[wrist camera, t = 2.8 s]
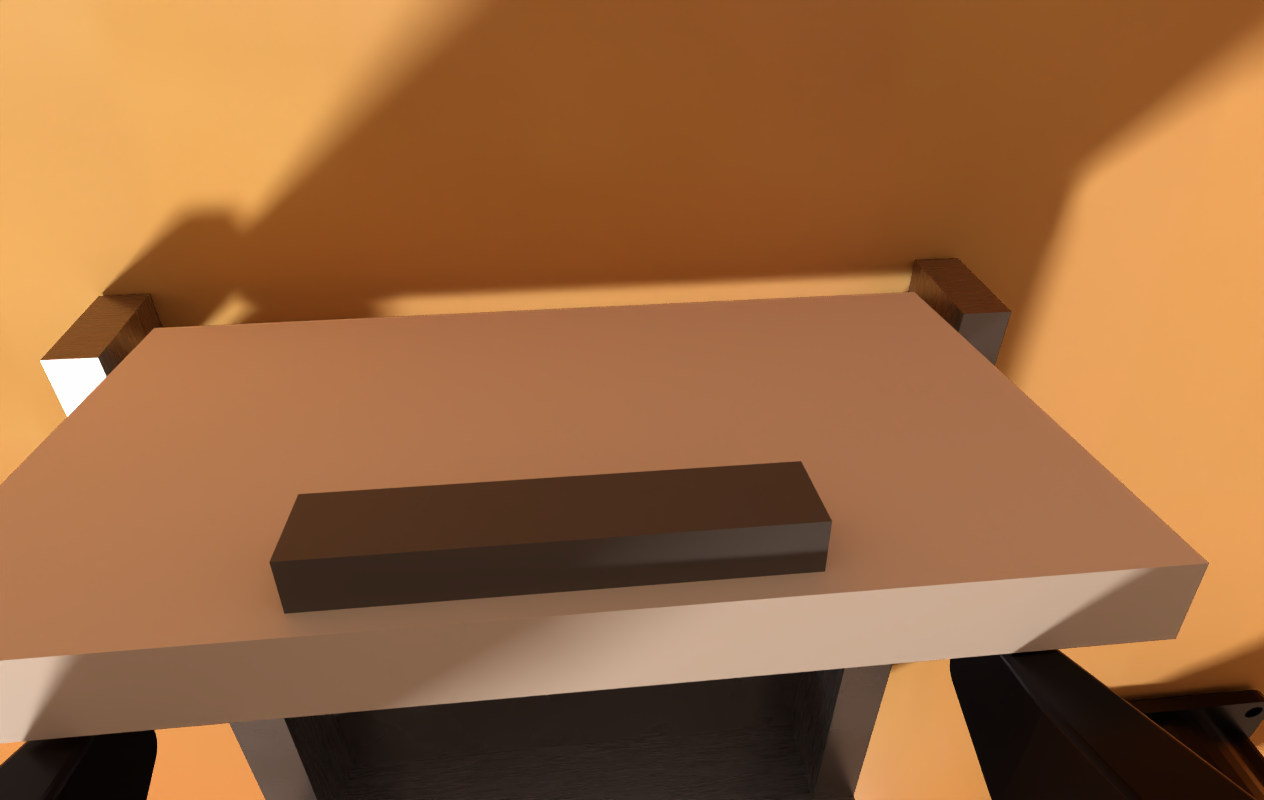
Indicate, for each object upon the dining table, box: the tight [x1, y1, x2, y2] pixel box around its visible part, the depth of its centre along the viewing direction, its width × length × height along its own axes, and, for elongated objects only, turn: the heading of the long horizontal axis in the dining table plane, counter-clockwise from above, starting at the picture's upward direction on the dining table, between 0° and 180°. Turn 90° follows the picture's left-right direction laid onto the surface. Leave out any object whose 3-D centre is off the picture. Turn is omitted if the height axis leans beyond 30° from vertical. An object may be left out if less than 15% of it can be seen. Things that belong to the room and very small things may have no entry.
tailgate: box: [0, 292, 1209, 743], centre depth 10 cm, size 2×12×7 cm, turn 90°
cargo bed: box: [40, 258, 1011, 800], centre depth 15 cm, size 14×15×7 cm
